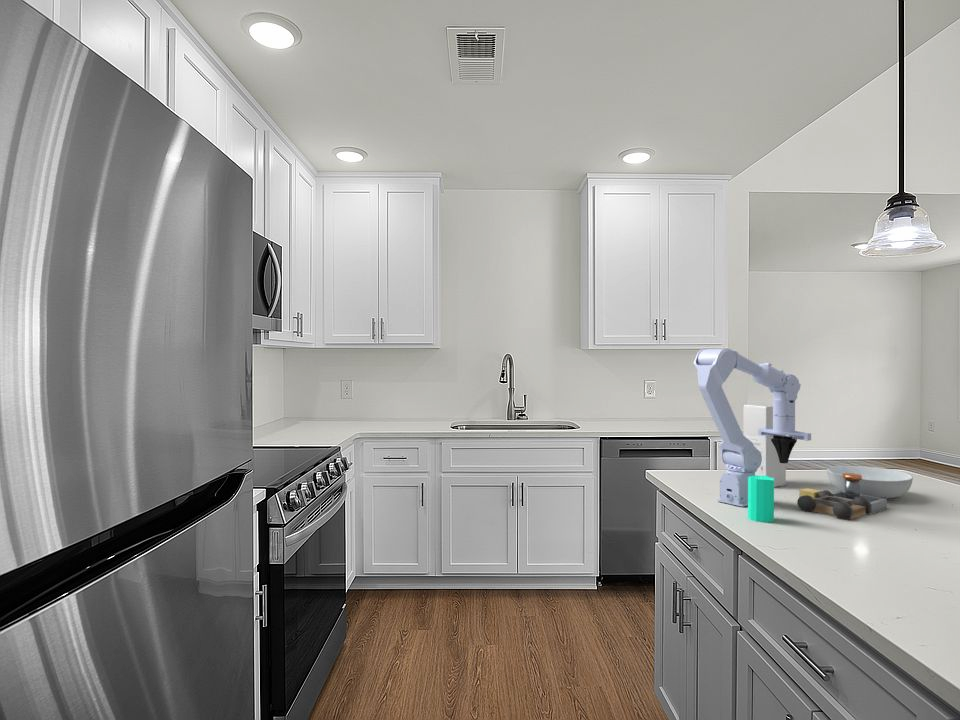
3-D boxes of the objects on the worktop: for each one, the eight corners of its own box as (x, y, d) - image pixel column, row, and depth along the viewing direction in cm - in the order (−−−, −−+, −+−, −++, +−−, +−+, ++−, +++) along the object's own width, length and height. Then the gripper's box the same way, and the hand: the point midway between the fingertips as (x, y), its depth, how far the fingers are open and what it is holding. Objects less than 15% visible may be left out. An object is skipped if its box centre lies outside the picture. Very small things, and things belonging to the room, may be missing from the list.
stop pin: (857, 507, 160) (857, 477, 160) (839, 503, 164) (839, 474, 164) (864, 504, 163) (864, 475, 163) (847, 501, 167) (847, 472, 166)
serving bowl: (828, 499, 171) (828, 475, 171) (825, 485, 190) (825, 463, 190) (918, 508, 162) (918, 482, 162) (906, 492, 180) (906, 469, 180)
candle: (759, 523, 148) (759, 474, 148) (742, 516, 154) (742, 469, 153) (779, 521, 149) (779, 472, 149) (762, 515, 155) (762, 468, 155)
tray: (871, 513, 156) (871, 504, 156) (823, 504, 166) (823, 495, 166) (886, 508, 161) (886, 499, 161) (839, 499, 171) (839, 490, 171)
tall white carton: (786, 485, 189) (786, 405, 189) (766, 488, 186) (766, 406, 185) (762, 480, 197) (762, 403, 197) (742, 482, 194) (742, 404, 193)
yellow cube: (814, 505, 165) (814, 492, 165) (799, 502, 168) (799, 490, 168) (821, 503, 167) (821, 490, 167) (806, 500, 171) (806, 488, 171)
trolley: (870, 513, 156) (870, 498, 156) (849, 520, 150) (849, 504, 149) (819, 503, 167) (819, 489, 167) (797, 509, 160) (797, 494, 160)
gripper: (816, 416, 170) (816, 465, 170) (767, 412, 182) (767, 457, 182) (803, 418, 166) (803, 467, 166) (754, 414, 178) (754, 460, 178)
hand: (783, 462), depth 174 cm, fingers closed
